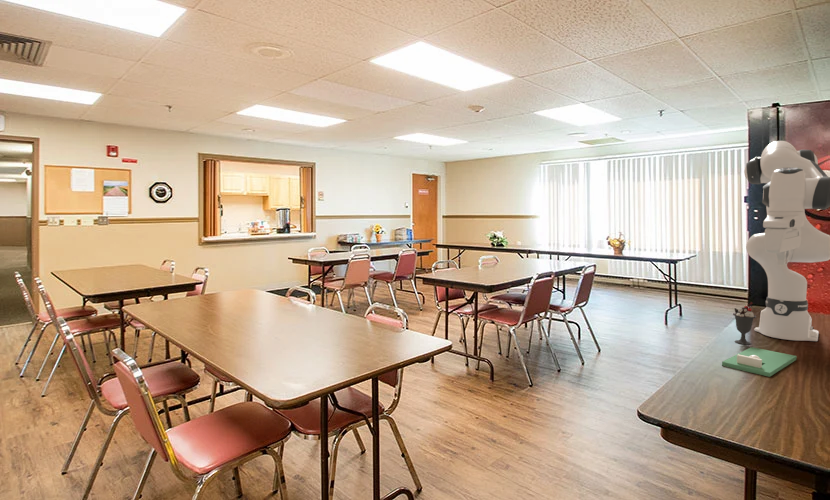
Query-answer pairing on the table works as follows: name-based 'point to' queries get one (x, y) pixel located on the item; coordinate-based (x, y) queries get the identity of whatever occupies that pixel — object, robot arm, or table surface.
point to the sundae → (744, 322)
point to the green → (760, 361)
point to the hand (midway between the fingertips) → (782, 264)
